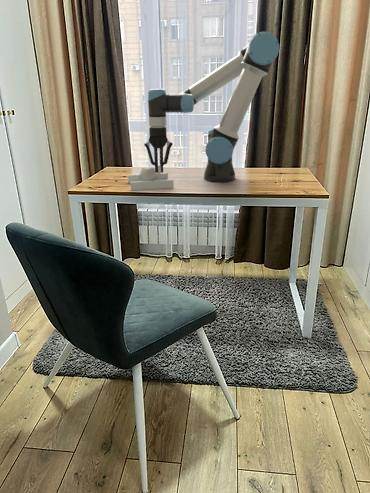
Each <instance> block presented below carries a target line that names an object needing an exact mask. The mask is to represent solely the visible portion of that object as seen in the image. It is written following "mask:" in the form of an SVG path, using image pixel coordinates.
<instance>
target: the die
mask: <svg viewBox="0 0 370 493" xmlns="http://www.w3.org/2000/svg"><path fill="white" fill-rule="evenodd" d="M139 174H140V175H139V178H140V180H141V181H154V180H157V178H158V177H157V174H156V172H155V167H142V168H141V171H140V173H139Z"/></svg>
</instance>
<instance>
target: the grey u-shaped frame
mask: <svg viewBox="0 0 370 493" xmlns="http://www.w3.org/2000/svg"><path fill="white" fill-rule="evenodd" d="M156 174H157V173H156ZM139 175H140V173H139V174H127V183H129V184H130V190H131V191H142V190H155V189H156V190H157V189H158V190H159V189H173V188H174V186H175V185H174V179H172V178H171V179H169V173H168V172H163V173H161V180H158V178H157V180H154V181H141V180H140V178H139ZM157 177H158V174H157Z"/></svg>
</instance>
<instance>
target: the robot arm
mask: <svg viewBox="0 0 370 493" xmlns="http://www.w3.org/2000/svg"><path fill="white" fill-rule="evenodd" d="M279 52H280V44H279V40H278V38H277V37H276V36H275V35H274V34H273V33H272V32H269V31H260V32H257V33H256V34H254V35H253V36H252V38H251V39H250V40H249V43H247V44H246V46H244V47H243V48H241V49H240V50H239V51H238V54H237V55H236V56H234V57H233V58H231V59H230V60H228V61H227V62H225V63H224V64H223V65H221V66H219V67H217V68H216V69H215V70H214V71H212V72H210V73H209V74H207V75H206V76H204V77H203V78H202V79H200V80H198V81H197V82H196V83H194V84H192V85H191V86H189V87H188V88H186V89H184V90H183V91H181V93H167V92H166V91H167V90H166V89H165V88H151V89H149V90H148V91H147V104H148V106H147V107H148V126H150V127H149V131H148V132H149V138H148V141H146V142H145V143H143V145H144V147H145V148H146V151H147V152H146V153H147V154H148V157H149V162H150V164H151V165H152V166H154V170H155V172H156V173H157V174H158V180H161V173H164V165H167V164H168V161H169V157H170V152H171V148H172V146H173V145H174V144H173V142H172V141H170V140H169V138H168V137H167V135H168V134H167V113H176V114H177V113H181V114H182V113H183V114H186V113H187V114H188V113H193V111H194V108H195V105H196V104H198V103H199V102H201V101H203V100H205V99H206V98H207V97H209V96H210V95H212V94H213V93H215V92H216V91H219V89H221V88H222V87H224V86H226V85H227V84H229V83H230V82H232V81H233V80H235V79H236V78H238V79H237V82H236V84H235V87H234V88H233V92H232V94H231V95H230V98H229V100H228V103H227V106H226V108H225V110H224V112H223V114H222V116H221V119H220V122H219V124H218V125H216V126H213V129H209V130H208V132H207V138H208V139H207V142H206V144H205V148H204V150H205V155H206V156H207V163H206V166H205V170H204V173H203V180H206V181H209V182H217V183H219V182H220V183H224V182H232V181H234V180H236V172H235V168H234V166H233V154H234V153H233V152H234V149H235V147H236V145H237V142H238V141H239V138H240V137H239V130H240V127H241V125H242V123H243V121H244V119H245V116H246V114H247V112H248V110H249V107H250V105H251V103H252V100H253V99H254V96H255V94H256V93H257V89H258V87H259V85H260V83H261V80H262V78H263V77H265V76H267V75H269V72H270V70H271V67H272V65H273V64H274V62H275V60H276V59H277V57H278V55H279ZM151 146H152V148H153V154H152V151H151V149H150V147H151ZM165 146H166V150H165V155H164V147H165ZM158 150H159V153H158ZM158 154H159V156H158ZM153 156H154V158H153ZM158 158H159V159H158Z"/></svg>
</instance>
